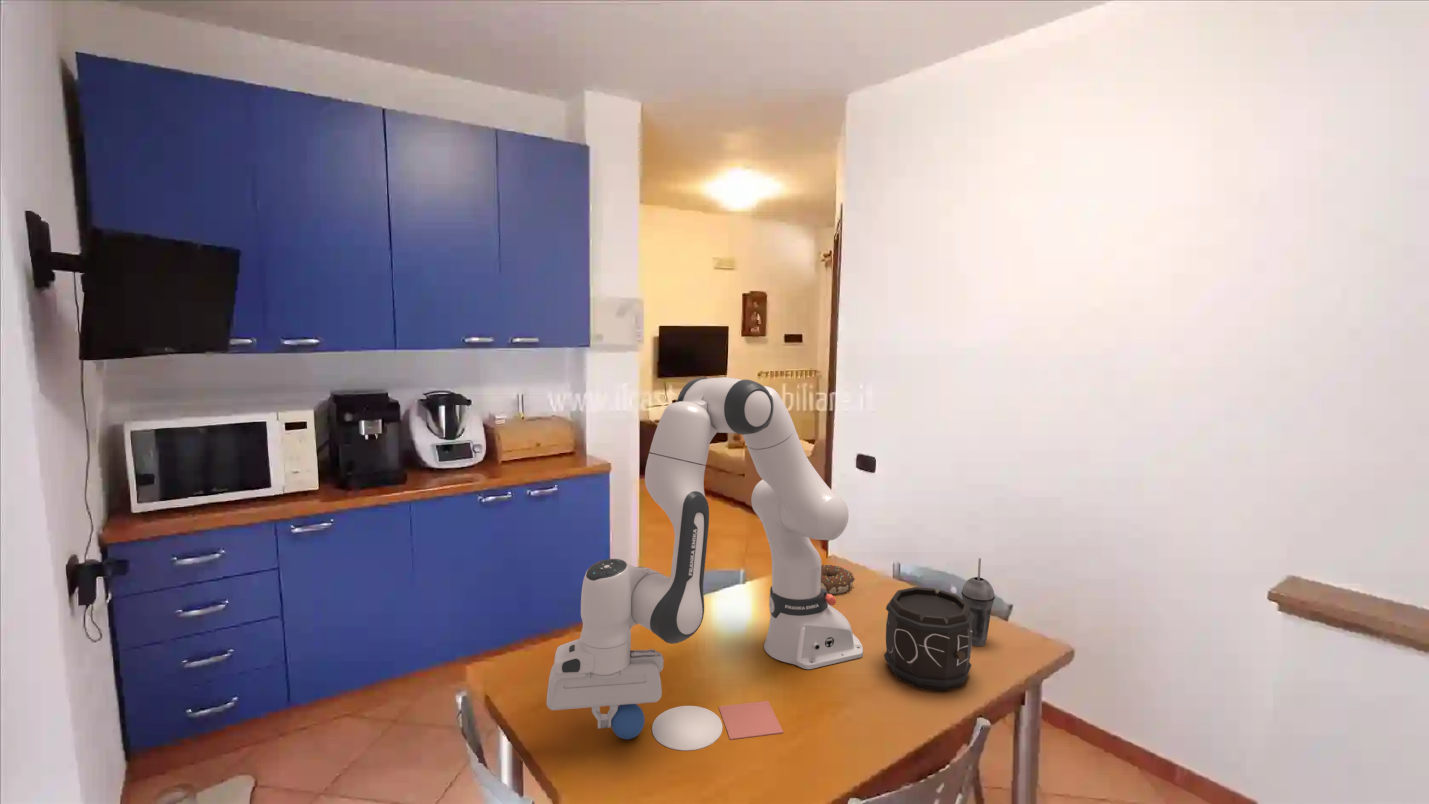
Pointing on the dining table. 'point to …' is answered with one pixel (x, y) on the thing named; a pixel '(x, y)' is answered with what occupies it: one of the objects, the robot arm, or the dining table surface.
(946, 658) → the wooden barrel
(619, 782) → the dining table surface
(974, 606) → the beverage cup
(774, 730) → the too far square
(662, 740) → the disc
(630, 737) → the ball
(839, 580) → the donut
